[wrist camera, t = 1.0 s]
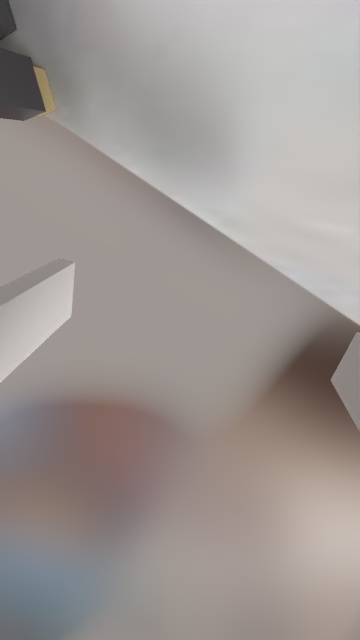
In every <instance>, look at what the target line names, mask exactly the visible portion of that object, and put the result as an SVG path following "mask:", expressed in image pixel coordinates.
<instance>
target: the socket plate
mask: <svg viewBox="0 0 360 640" xmlns="http://www.w3.org/2000/svg"><path fill="white" fill-rule="evenodd" d="M15 30H16V26H15V22H14V19H13V15H12V12H11V9H10V5H9V2H8V0H0V40H1V39H2V38H4V37H5V36H7V35H8V34H10V33H12V32H13V31H15Z"/></svg>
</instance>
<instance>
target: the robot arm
mask: <svg viewBox="0 0 360 640" xmlns="http://www.w3.org/2000/svg"><path fill="white" fill-rule="evenodd" d="M74 269H75V262H72V261H68V260H63V259H57V260H54V261H52V262H50V263H48V264H46V265H44V266H42V267H40V268H38V269H36V270H34V271H32V272H31V273H28V274H26V275H24V276H22V277H21V278H18V279H16V280H14V281H12V282H10V283H9V284H6V285H5V286H2V287H0V382H1V381H3V380H4V379H5V378H6V377H7V376H8V375H9V374H10V373H11V372H12V371H13V370H14V369H15V368H16V367H17V366H18V365H20V364H21V363H22V362H23V361H24V360H25V359H26V358H27V357H28V356H29V355H30V354H31V353H32V352H33V351H35V350H36V348H38V347H39V346H40V345H41V344H42V343H43V342H44V341H45V340H46V339H47V338H48V337H49V336H50V335H52V334H53V332H55V331H56V330H57V329H58V328H59V327H60V326H61V325H62V324H63V323H64V322H65V321H66V320H67V319H69V318H70V317H71V314H72V298H73V284H74ZM331 381H332V383H333V385H334V387H335V389H336V390H337V392H338V394H339V396H340V398H341V399H342V401H343V403H344V405H345V406H346V408H347V410H348V412H349V413H350V415H351V417H352V419H353V420H354V422H355V424H356V426H357V428H358V430H359V431H360V333H359V332H357V333H356V334H355V336H354V338H353V340H352V342H351V344H350V345H349V347H348V349H347V351H346V353H345V355H344V357H343V358H342V360H341V362H340V364H339V366H338V368H337V370H336V371H335V373H334V375H333V377H332V379H331Z"/></svg>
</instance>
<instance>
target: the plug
mask: <svg viewBox="0 0 360 640" xmlns="http://www.w3.org/2000/svg"><path fill="white" fill-rule="evenodd" d="M55 110H56V108H55V104H54V101H53V97H52V93H51V90H50V86H49V83H48V79H47V75H46V72H45V69H41V68H38V67H34V66H33V64H32V61H31V58H30V57H27V56H23V55H20V54H17V53H14V52H11V51H8V50H4V49H1V48H0V118H4V119H13V120H22V121H24V120H27V119H29V118H32V117H34V116H38V117H40V116H43V115H45V114H47V113H50V112H52V111H55Z"/></svg>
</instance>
